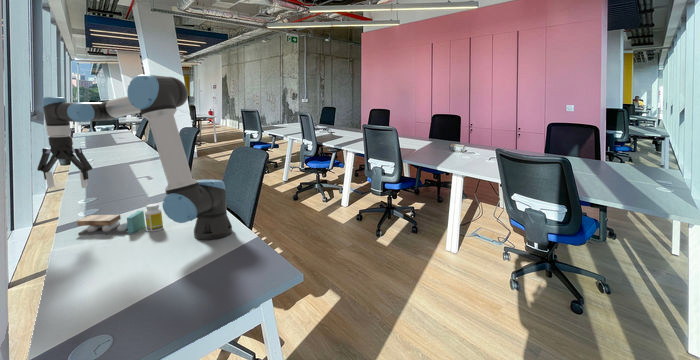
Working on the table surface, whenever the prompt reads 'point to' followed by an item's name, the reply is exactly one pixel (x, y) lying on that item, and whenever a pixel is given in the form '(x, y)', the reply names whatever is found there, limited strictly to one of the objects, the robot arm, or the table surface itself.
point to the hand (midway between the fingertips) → (68, 187)
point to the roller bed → (118, 226)
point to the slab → (98, 220)
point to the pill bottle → (153, 218)
